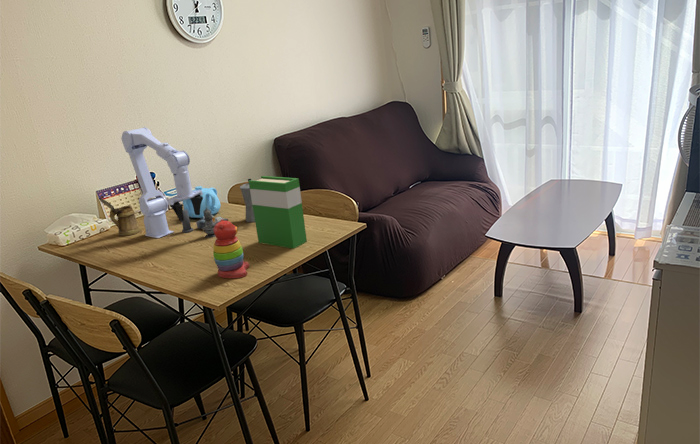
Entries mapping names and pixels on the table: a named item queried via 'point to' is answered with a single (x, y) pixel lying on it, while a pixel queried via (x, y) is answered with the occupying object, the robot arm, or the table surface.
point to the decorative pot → (204, 202)
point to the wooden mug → (123, 219)
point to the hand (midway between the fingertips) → (189, 217)
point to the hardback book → (278, 211)
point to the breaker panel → (215, 220)
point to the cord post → (186, 222)
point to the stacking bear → (228, 251)
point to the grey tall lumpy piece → (208, 224)
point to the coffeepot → (248, 202)
